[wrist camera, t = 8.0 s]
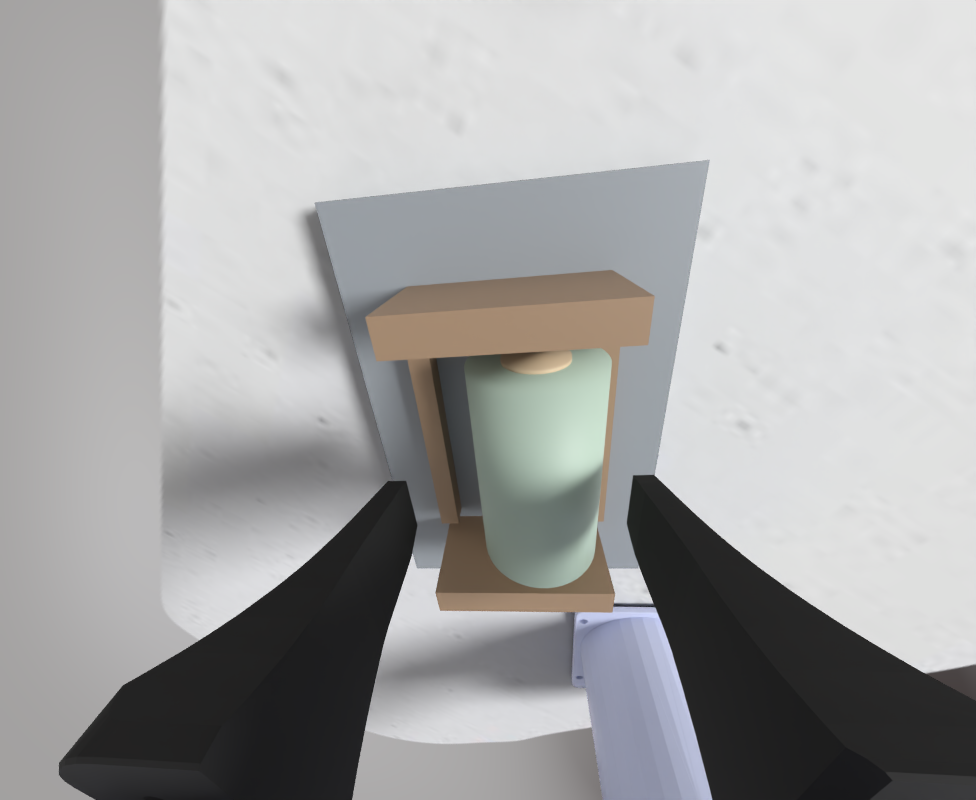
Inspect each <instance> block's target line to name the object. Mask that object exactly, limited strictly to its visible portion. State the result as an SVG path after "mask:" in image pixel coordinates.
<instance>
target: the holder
mask: <svg viewBox="0 0 976 800" xmlns="http://www.w3.org/2000/svg"><path fill="white" fill-rule="evenodd" d="M709 161H710V160H705V161H696V162H687V163H677V164H668V165H659V166H650V167H640V168H631V169H622V170H612V171H603V172H594V173H585V174H575V175H566V176H557V177H547V178H538V179H529V180H520V181H510V182H501V183H492V184H483V185H473V186H464V187H455V188H445V189H436V190H427V191H418V192H408V193H399V194H390V195H380V196H371V197H362V198H353V199H343V200H334V201H325V202H315V206H316V209H317V213H318V217H319V220H320V224H321V227H322V231H323V234H324V238H325V242H326V245H327V249H328V252H329V256H330V259H331V263H332V267H333V270H334V274H335V277H336V281H337V284H338V288H339V291H340V295H341V299H342V302H343V306H344V309H345V313H346V316H347V320H348V324H349V327H350V331H351V334H352V338H353V341H354V345H355V349H356V352H357V356H358V359H359V363H360V366H361V370H362V373H363V377H364V381H365V384H366V388H367V391H368V395H369V398H370V402H371V406H372V409H373V413H374V416H375V420H376V423H377V427H378V430H379V434H380V438H381V441H382V445H383V448H384V452H385V455H386V459H387V463H388V466H389V470H390V473H391V477H392V480H393V481H406V482H407V486H408V490H409V494H410V498H411V502H412V506H413V509H414V513H415V517H416V521H417V525H418V526H417V531H416V536H415V542H414V546H413V551H412V552H413V555H414V559H415V562H416V566H417V568H441V569H440V574H439V578H438V583H437V588H436V596H437V600H438V604H439V608H440V611H519V612H600V613H612V612H613V605H614V597H615V592H614V589H613V585H612V581H611V577H610V573H609V570H608V568H638V567H639V565H638V562H637V559H636V557H635V554H634V550H633V546H632V543H631V539H630V535H629V531H628V527H627V516H628V509H629V501H630V494H631V487H632V479H633V475H655V469H656V464H657V458H658V452H659V447H660V441H661V435H662V429H663V424H664V418H665V412H666V406H667V401H668V395H669V389H670V384H671V378H672V372H673V366H674V361H675V355H676V349H677V344H678V338H679V332H680V326H681V321H682V315H683V309H684V304H685V298H686V292H687V286H688V281H689V275H690V269H691V263H692V258H693V252H694V246H695V241H696V235H697V229H698V223H699V218H700V212H701V206H702V201H703V195H704V189H705V183H706V178H707V172H708V166H709ZM594 348H602V349H603V350H605V351H606V352H607V353H608V354H609V356H610V357H611V360H612V367H611V379H610V390H609V401H608V412H607V423H606V434H605V446H604V457H603V468H602V479H601V490H600V502H599V513H598V524H597V535H596V546H595V554H594V558H593V560H592V563H591V565H590V566H589V568H588V569H587V570H586V571H585V572H584V573H583V575H581V576H580V577H579V578H577V579H576V580H574V581H572V582H571V583H568V584H566V585H563V586H559V587H554V588H534V587H529V586H525V585H522V584H519V583H517V582H515V581H513V580H511V579H509V578H508V577H506V576H505V575H504V574H502V573H501V572H500V571H499V570H498V569H497V568H496V566H495V565H494V564H493V562H492V560H491V559H490V556H489V554H488V551H487V547H486V539H485V531H484V523H483V515H482V507H481V499H480V491H479V483H478V475H477V467H476V459H475V451H474V443H473V435H472V427H471V419H470V411H469V403H468V395H467V387H466V379H465V371H464V364H465V362H466V360H467V358H468V357H469V356H477V355H493V354H510V353H527V352H544V351H560V350H577V349H594Z"/></svg>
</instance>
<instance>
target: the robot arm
mask: <svg viewBox="0 0 976 800" xmlns="http://www.w3.org/2000/svg"><path fill="white" fill-rule="evenodd" d="M417 526H418V525H417V521H416V517H415V513H414V509H413V506H412V502H411V498H410V494H409V490H408V486H407V482H406V481H388V482H387V483H386V484H385V485H384V486H383V487H382V488H381V489H380V490H379V491H378V492H377V493H376V494H375V496H374V497H373V498H372V499H371V500H370V501H369V502H368V503H367V504H366V505H365V506H364V507H363V508H362V509H361V510H360V511H359V512H358V513H357V515H356V516H355V517H354V518H353V519H352V520H351V521H350V522H349V523H348V524H347V525H346V526H345V527H344V528H343V529H342V530H341V531H340V532H339V533H338V534H337V535H336V536H335V537H333V538H332V539H331V540H330V541H329V542H328V543H327V544H326V545H325V546H324V547H323V548H322V549H321V550H320V551H319V552H318V553H316V554H315V555H314V556H313V557H312V558H311V559H310V560H309V561H307V562H306V563H305V564H304V565H303V566H302V567H300V568H299V569H298V570H297V571H296V572H294V573H293V574H292V575H291V576H289V577H288V578H287V579H286V580H285V581H283V582H282V583H281V584H280V585H278V586H277V587H276V588H274V589H273V590H272V591H270V592H269V593H268V594H266V595H265V596H263V597H262V598H261V599H259V600H258V601H257V602H255V603H254V604H253V605H251V606H250V607H248V608H247V609H246V610H244V611H243V612H242V613H240V614H239V615H237V616H236V617H234V618H233V619H231V620H230V621H228V622H227V623H225V624H224V625H222V626H221V627H219V628H218V629H216V630H215V631H213V632H212V633H210V634H209V635H207V636H206V637H204V638H202V639H201V640H199V641H198V642H196V643H195V644H193V645H191V646H190V647H188V648H186V649H185V650H183V651H182V652H180V653H179V654H177V655H175V656H173V657H171V658H170V659H168V660H166V661H165V662H163V663H161V664H159V665H158V666H156V667H154V668H153V669H151V670H149V671H147V672H146V673H144V674H142V675H141V676H139V677H137V678H135V679H134V680H132V681H130V682H128V683H126V684H125V685H123V686H122V687H121V689H120V690H119V691H118V692H117V693H116V695H115V696H114V697H113V698H112V700H111V701H110V702H109V703H108V704H107V706H106V707H105V708H104V709H103V710H102V712H101V713H100V714H99V715H98V716H97V718H96V719H95V720H94V721H93V723H92V724H91V725H90V726H89V727H88V729H87V730H86V731H85V732H84V733H83V735H82V736H81V737H80V738H79V739H78V741H77V742H76V743H75V745H74V746H73V747H72V748H71V749H70V750H69V752H68V753H67V754H66V755H65V756H64V758H63V759H62V760H61V762H60V763H59V775H60V777H61V778H62V779H63V780H64V781H65V782H67V783H68V784H70V785H71V786H73V787H74V788H76V789H78V790H80V791H81V792H83V793H85V794H86V795H88V796H90V797H92V798H94V799H95V800H352V797H353V790H354V785H355V779H356V773H357V768H358V762H359V757H360V752H361V747H362V742H363V736H364V731H365V726H366V721H367V716H368V711H369V707H370V702H371V697H372V693H373V688H374V683H375V679H376V674H377V670H378V666H379V661H380V657H381V653H382V648H383V644H384V640H385V637H386V633H387V630H388V627H389V623H390V620H391V617H392V614H393V611H394V608H395V605H396V602H397V599H398V596H399V593H400V590H401V587H402V584H403V581H404V578H405V575H406V572H407V569H408V565H409V562H410V559H411V556H412V551H413V546H414V542H415V536H416V531H417ZM627 527H628V531H629V535H630V539H631V543H632V546H633V550H634V554H635V557H636V559H637V562H638V565H639V567H640V570H641V572H642V575H643V577H644V580H645V583H646V585H647V588H648V590H649V593H650V595H651V598H652V600H653V603H654V605H655V607H613V612H612V613H600V612H575V616H574V637H573V657H572V678H571V679H572V685H573V686H575V687H579V688H586V692H587V699H588V705H589V712H590V719H591V725H592V732H593V738H594V745H595V752H596V758H597V765H598V772H599V778H600V785H601V791H602V798H603V800H976V701H975V700H973V699H971V698H969V697H968V696H966V695H964V694H962V693H960V692H958V691H956V690H955V689H953V688H951V687H949V686H947V685H945V684H943V683H941V682H940V681H938V680H936V679H934V678H932V677H930V676H928V675H927V674H925V673H923V672H921V671H919V670H918V669H916V668H914V667H912V666H911V665H909V664H907V663H905V662H904V661H902V660H900V659H899V658H897V657H895V656H893V655H892V654H890V653H888V652H887V651H885V650H883V649H881V648H880V647H878V646H876V645H875V644H873V643H871V642H869V641H868V640H866V639H865V638H863V637H861V636H860V635H858V634H856V633H855V632H853V631H852V630H850V629H848V628H847V627H845V626H843V625H842V624H840V623H839V622H837V621H836V620H834V619H833V618H831V617H829V616H828V615H826V614H825V613H823V612H822V611H820V610H819V609H817V608H816V607H814V606H813V605H811V604H809V603H808V602H806V601H805V600H804V599H802V598H801V597H799V596H798V595H796V594H795V593H793V592H792V591H790V590H789V589H788V588H786V587H785V586H783V585H782V584H781V583H779V582H778V581H777V580H775V579H774V578H772V577H771V576H770V575H768V574H767V573H766V572H764V571H763V570H761V569H760V568H759V567H757V566H756V565H755V564H754V563H752V562H751V561H750V560H748V559H747V558H746V557H745V556H743V555H742V554H741V553H740V552H738V551H737V550H736V549H735V548H734V547H732V546H731V545H730V544H729V543H727V542H726V541H725V540H724V539H723V538H721V537H720V536H719V535H718V534H717V533H716V532H714V531H713V530H712V529H711V528H710V527H709V526H708V525H707V524H706V523H704V522H703V521H702V520H701V519H700V518H699V517H698V516H697V515H696V514H694V513H693V512H692V511H691V510H690V509H689V508H688V507H687V506H686V505H685V504H684V503H683V502H682V501H681V500H680V499H678V498H677V497H676V496H675V495H674V494H673V493H672V492H671V491H670V490H669V489H668V488H667V487H666V486H665V485H664V484H663V483H662V482H661V481H660V480H659V479H658V478H657V477H655V476H654V475H633V479H632V487H631V494H630V501H629V509H628V516H627Z"/></svg>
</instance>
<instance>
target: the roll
mask: <svg viewBox="0 0 976 800" xmlns="http://www.w3.org/2000/svg"><path fill="white" fill-rule="evenodd" d="M611 367H612V360H611V357H610V356H609V354H608V353H607V352H606V351H605V350H603V349H602V348H594V349H577V350H560V351H544V352H527V353H510V354H493V355H477V356H469V357H468V358H467V360H466V362H465V364H464V371H465V379H466V387H467V395H468V403H469V411H470V419H471V427H472V435H473V443H474V451H475V459H476V467H477V475H478V483H479V491H480V499H481V507H482V515H483V523H484V531H485V539H486V547H487V551H488V554H489V556H490V559H491V560H492V562H493V564H494V565H495V566H496V568H497V569H498V570H499V571H500V572H501V573H502V574H504V575H505V576H506V577H508V578H509V579H511V580H513V581H515V582H517V583H519V584H522V585H525V586H529V587H534V588H554V587H559V586H563V585H566V584H568V583H571V582H572V581H574V580H576V579H577V578H579V577H580V576H581V575H583V573H584V572H585V571H586V570H587V569H588V568H589V566H590V565H591V563H592V560H593V558H594V554H595V546H596V535H597V524H598V513H599V502H600V490H601V479H602V468H603V457H604V446H605V434H606V423H607V412H608V401H609V390H610V379H611Z"/></svg>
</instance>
